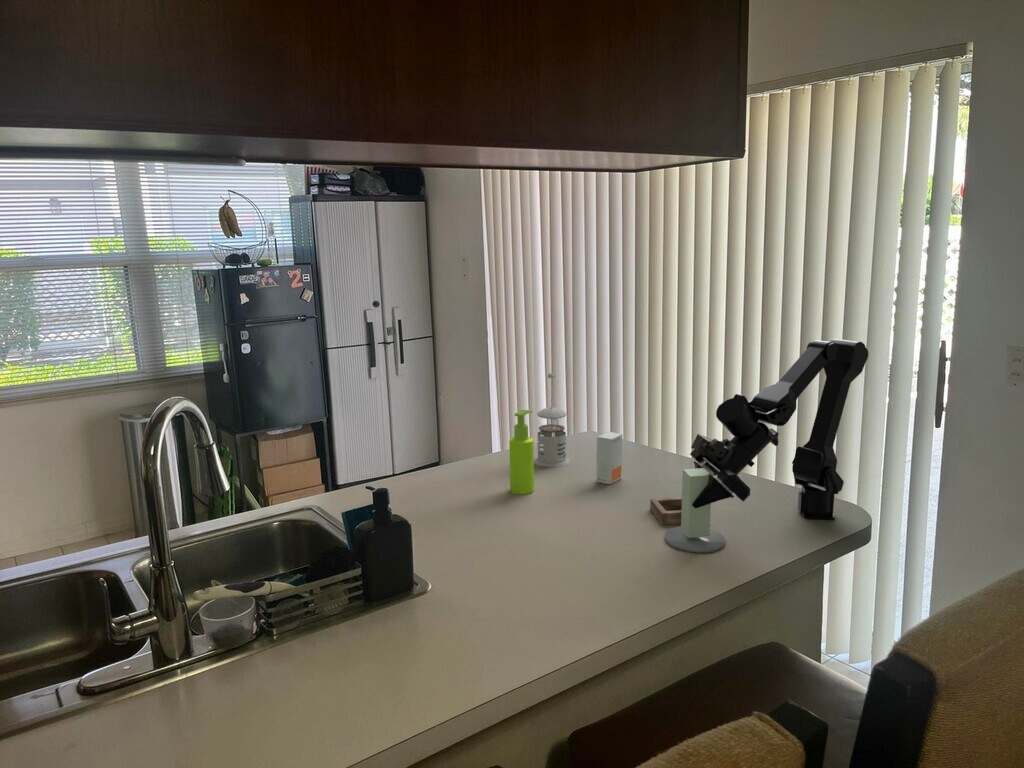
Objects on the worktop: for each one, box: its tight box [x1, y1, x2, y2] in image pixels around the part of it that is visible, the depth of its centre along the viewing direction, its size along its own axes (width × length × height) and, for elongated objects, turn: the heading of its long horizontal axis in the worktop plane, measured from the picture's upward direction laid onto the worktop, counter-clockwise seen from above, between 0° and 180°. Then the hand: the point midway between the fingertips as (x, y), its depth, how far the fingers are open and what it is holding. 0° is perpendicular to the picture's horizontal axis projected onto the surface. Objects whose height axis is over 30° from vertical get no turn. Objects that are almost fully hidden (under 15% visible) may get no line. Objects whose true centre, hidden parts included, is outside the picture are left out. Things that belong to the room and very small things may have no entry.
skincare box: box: [595, 431, 623, 485], centre depth 184 cm, size 6×4×12 cm
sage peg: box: [680, 468, 712, 538], centre depth 147 cm, size 4×4×13 cm
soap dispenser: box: [508, 409, 535, 496], centre depth 178 cm, size 6×7×20 cm
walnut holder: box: [649, 496, 682, 525], centre depth 162 cm, size 9×9×2 cm
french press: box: [534, 372, 571, 468], centre depth 200 cm, size 10×12×25 cm
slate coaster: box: [664, 525, 726, 554], centre depth 149 cm, size 12×12×1 cm
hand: (689, 502), depth 147 cm, fingers closed on sage peg, 4 cm apart
